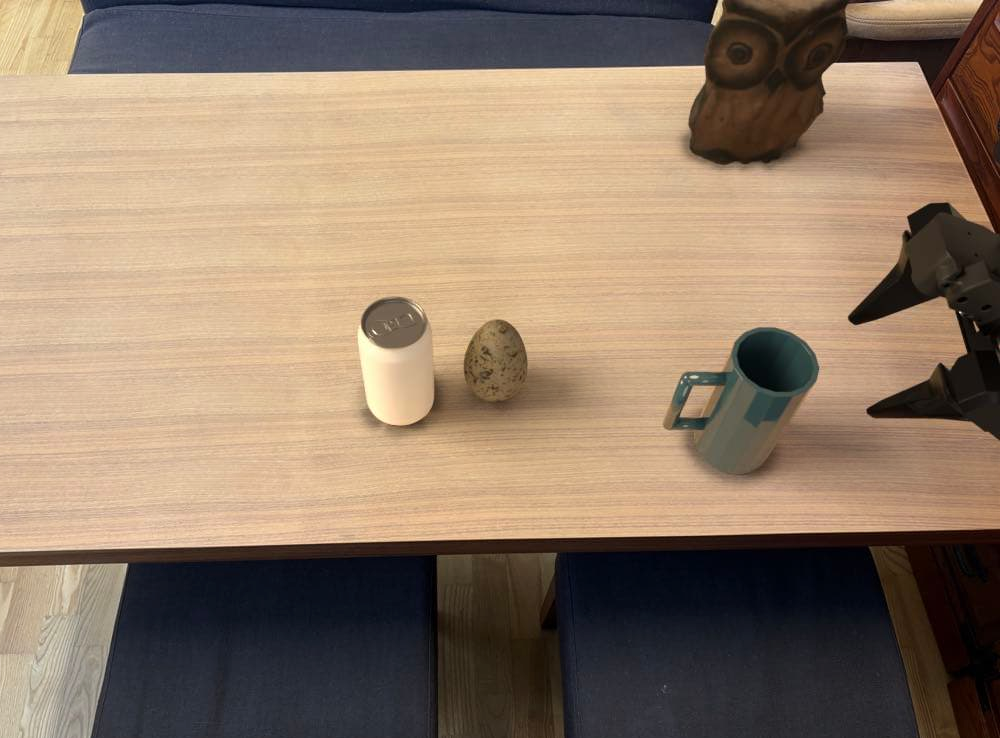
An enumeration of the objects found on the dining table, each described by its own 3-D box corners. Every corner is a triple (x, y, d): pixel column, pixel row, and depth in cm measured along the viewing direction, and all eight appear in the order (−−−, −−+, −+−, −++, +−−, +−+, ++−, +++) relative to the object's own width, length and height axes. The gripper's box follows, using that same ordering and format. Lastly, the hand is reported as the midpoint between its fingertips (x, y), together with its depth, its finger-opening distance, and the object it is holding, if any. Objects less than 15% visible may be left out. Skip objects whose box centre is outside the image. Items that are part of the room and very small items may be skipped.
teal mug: (760, 410, 81) (808, 327, 70) (774, 474, 78) (827, 396, 67) (650, 410, 81) (682, 326, 70) (660, 474, 77) (694, 396, 67)
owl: (810, 146, 102) (881, -13, 85) (744, 195, 97) (806, 37, 80) (727, 95, 107) (779, -65, 90) (661, 139, 102) (702, -21, 85)
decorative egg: (515, 359, 84) (522, 294, 76) (531, 409, 81) (540, 346, 73) (457, 370, 84) (457, 305, 75) (470, 420, 80) (473, 358, 72)
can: (357, 384, 83) (344, 305, 72) (419, 363, 84) (415, 283, 74) (381, 437, 79) (370, 362, 69) (444, 414, 81) (444, 338, 71)
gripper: (981, 105, 57) (782, 230, 68) (1061, 313, 47) (811, 422, 58) (1060, 191, 62) (863, 296, 73) (1149, 397, 52) (904, 483, 63)
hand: (859, 365), depth 67 cm, fingers open, 9 cm apart
